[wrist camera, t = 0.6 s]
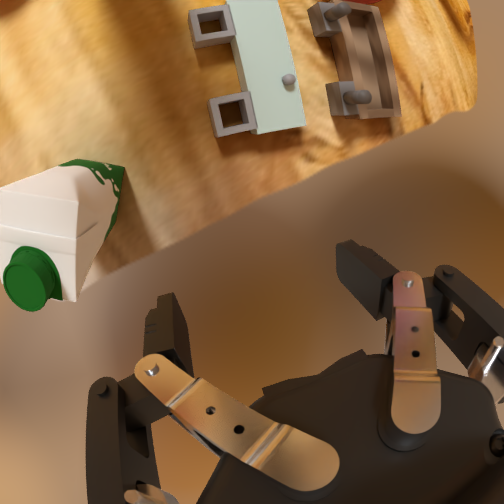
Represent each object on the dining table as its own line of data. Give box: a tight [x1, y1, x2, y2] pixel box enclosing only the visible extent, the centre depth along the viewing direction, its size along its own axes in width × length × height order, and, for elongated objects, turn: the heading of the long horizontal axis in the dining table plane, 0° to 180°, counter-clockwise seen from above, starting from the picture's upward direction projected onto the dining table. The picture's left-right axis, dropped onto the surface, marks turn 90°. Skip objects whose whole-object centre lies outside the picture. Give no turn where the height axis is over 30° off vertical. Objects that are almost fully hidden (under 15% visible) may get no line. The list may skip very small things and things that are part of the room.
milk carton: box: [0, 159, 125, 312], centre depth 22 cm, size 9×9×20 cm
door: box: [188, 0, 306, 137], centre depth 27 cm, size 18×11×4 cm, turn 12°
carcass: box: [307, 0, 401, 119], centre depth 27 cm, size 18×10×7 cm, turn 12°
